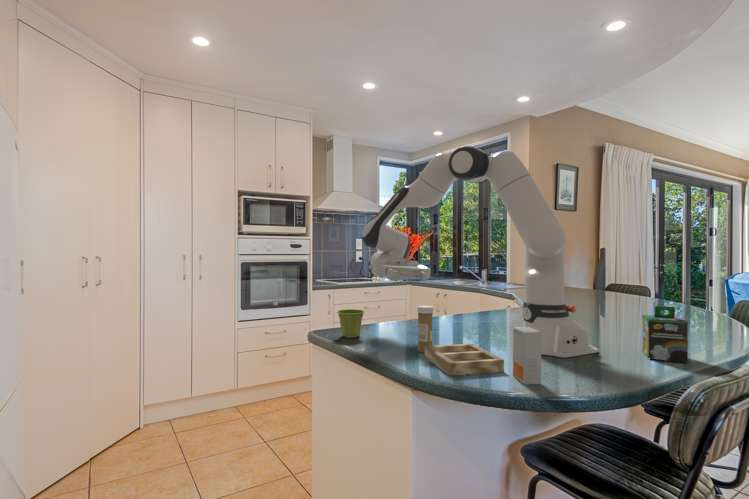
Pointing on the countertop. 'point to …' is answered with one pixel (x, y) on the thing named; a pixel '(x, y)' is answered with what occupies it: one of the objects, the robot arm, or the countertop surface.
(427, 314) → the sprinkles bottle
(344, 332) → the plant pot
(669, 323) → the chalk box
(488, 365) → the wooden compartment tray
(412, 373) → the countertop surface
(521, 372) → the skincare box
